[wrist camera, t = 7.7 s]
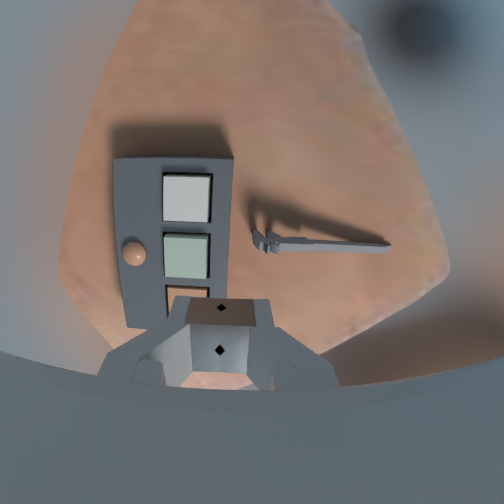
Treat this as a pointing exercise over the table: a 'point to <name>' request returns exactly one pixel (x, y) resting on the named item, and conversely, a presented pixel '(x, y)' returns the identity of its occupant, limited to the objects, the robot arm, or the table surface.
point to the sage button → (186, 254)
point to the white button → (186, 197)
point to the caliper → (312, 244)
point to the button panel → (165, 231)
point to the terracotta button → (185, 292)
